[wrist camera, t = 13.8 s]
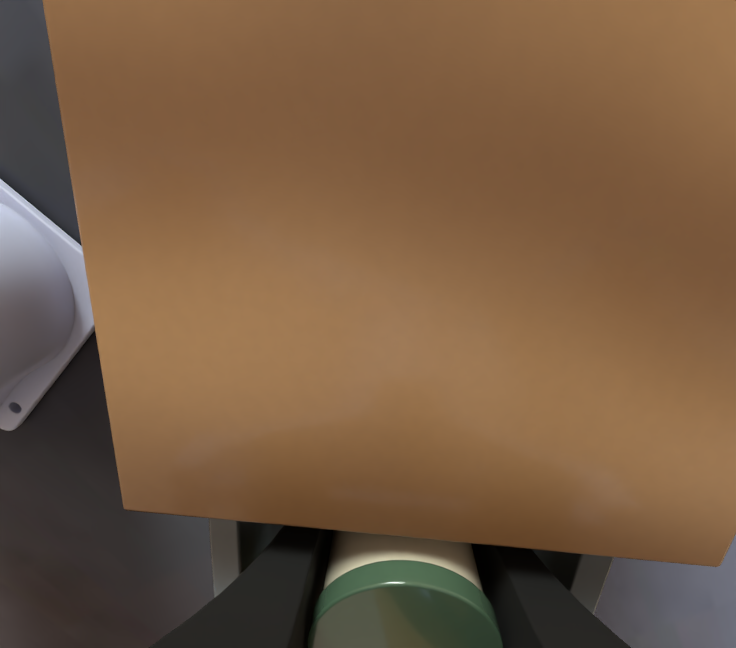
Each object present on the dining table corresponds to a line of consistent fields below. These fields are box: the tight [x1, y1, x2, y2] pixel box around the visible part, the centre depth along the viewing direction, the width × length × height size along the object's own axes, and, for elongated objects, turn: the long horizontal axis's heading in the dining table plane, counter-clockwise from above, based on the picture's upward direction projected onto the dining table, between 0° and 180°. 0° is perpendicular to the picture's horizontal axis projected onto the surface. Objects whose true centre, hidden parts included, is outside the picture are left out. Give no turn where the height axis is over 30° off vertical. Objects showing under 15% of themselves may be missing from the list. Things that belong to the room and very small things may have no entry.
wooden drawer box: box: [43, 0, 736, 567], centre depth 10 cm, size 14×13×9 cm
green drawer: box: [209, 518, 614, 614], centre depth 14 cm, size 18×11×7 cm, turn 176°
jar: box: [307, 530, 504, 648], centre depth 12 cm, size 4×4×6 cm
